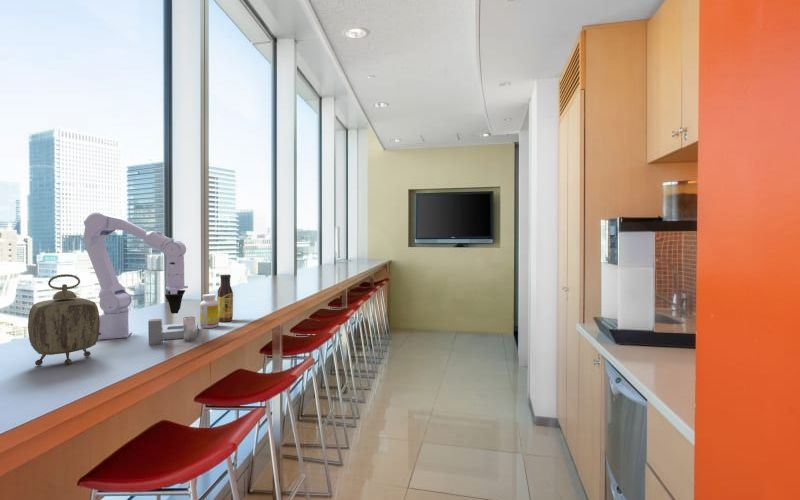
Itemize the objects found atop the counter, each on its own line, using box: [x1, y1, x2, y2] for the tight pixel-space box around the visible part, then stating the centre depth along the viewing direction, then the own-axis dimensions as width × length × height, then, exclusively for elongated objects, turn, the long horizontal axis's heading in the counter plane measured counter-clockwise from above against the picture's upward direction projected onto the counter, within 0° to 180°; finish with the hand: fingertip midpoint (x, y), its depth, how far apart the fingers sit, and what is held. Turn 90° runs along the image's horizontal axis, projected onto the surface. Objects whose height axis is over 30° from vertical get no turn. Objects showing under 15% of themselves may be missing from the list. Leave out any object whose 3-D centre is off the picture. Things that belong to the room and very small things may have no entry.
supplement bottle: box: [199, 293, 219, 329], centre depth 159 cm, size 7×7×13 cm
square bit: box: [147, 318, 163, 346], centre depth 133 cm, size 4×4×8 cm
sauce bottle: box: [216, 273, 234, 323], centre depth 170 cm, size 6×6×20 cm
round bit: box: [182, 316, 196, 343], centre depth 137 cm, size 4×4×8 cm
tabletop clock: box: [27, 273, 100, 366], centre depth 112 cm, size 14×9×25 cm, turn 141°
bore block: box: [162, 321, 199, 341], centre depth 146 cm, size 14×14×2 cm
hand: (175, 311), depth 146 cm, fingers open, 7 cm apart
